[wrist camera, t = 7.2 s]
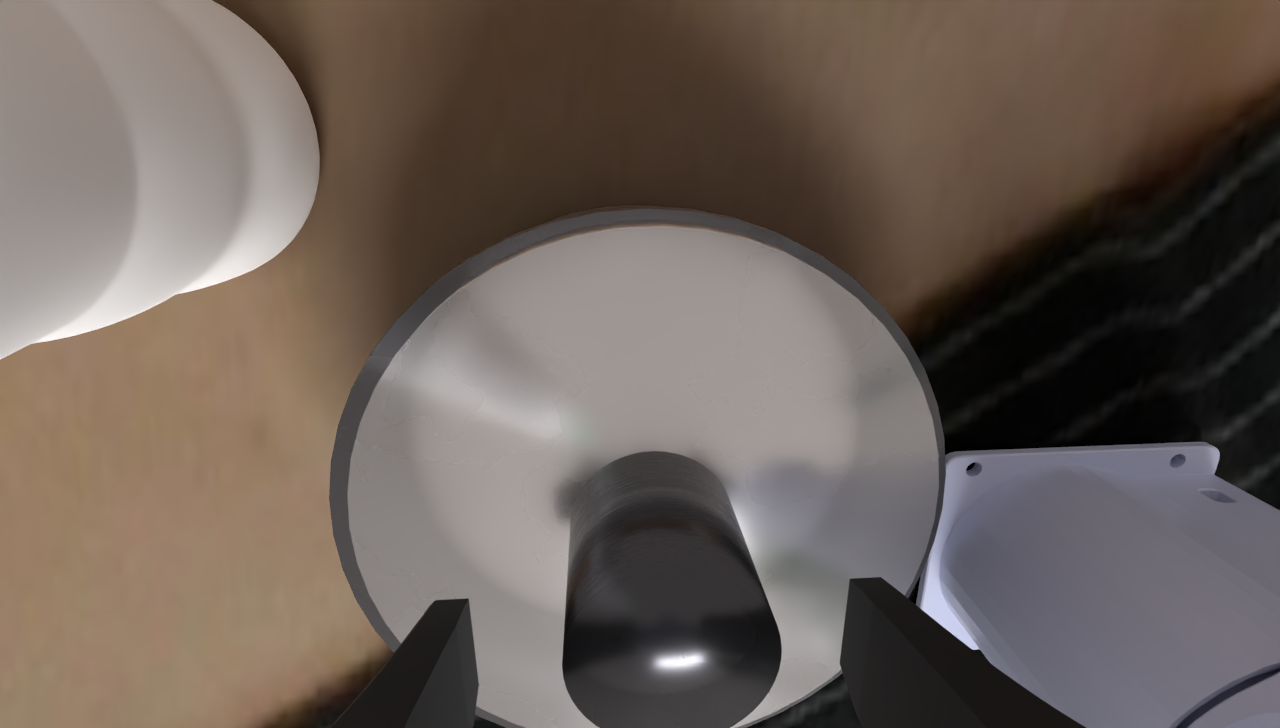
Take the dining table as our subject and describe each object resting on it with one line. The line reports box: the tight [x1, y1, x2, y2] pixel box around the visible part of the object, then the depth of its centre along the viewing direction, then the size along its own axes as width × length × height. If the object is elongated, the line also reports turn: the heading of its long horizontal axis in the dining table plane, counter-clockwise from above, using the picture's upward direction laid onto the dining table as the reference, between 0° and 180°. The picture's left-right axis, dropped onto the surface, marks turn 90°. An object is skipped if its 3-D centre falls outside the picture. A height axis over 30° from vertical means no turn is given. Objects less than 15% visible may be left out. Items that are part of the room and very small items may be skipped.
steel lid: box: [347, 219, 939, 728], centre depth 13 cm, size 13×13×5 cm
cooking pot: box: [329, 205, 946, 728], centre depth 18 cm, size 15×15×5 cm
